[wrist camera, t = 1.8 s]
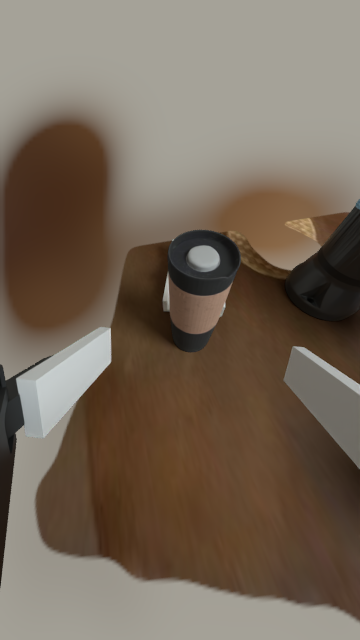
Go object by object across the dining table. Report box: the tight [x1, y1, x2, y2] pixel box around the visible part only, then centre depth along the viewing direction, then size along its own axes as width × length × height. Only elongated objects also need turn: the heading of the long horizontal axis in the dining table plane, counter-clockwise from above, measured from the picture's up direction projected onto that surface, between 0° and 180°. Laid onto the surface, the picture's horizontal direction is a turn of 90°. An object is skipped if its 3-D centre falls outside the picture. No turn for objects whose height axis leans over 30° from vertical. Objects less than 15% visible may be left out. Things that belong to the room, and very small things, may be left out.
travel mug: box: [168, 230, 241, 352], centre depth 27 cm, size 8×8×20 cm
